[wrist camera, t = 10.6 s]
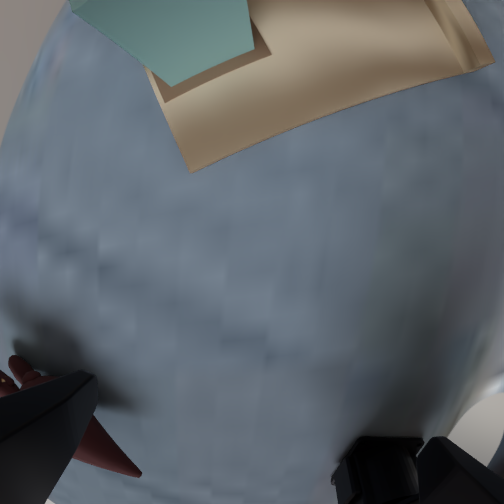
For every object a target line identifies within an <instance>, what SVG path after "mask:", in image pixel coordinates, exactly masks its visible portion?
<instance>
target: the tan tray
mask: <svg viewBox="0 0 504 504" xmlns="http://www.w3.org/2000/svg"><path fill="white" fill-rule="evenodd" d="M247 5H248V11H249V17H250V23H251V30H252V36H253V42H254V50H251V51H249V52H246V53H244V54H241V55H239V56H236V57H234V58H232V59H229V60H227V61H225V62H222V63H220V64H218V65H216V66H213V67H211V68H209V69H207V70H205V71H203V72H201V73H198V74H196V75H194V76H192V77H190V78H188V79H186V80H184V81H182V82H180V83H178V84H176V85H174V86H173V87H171V86H169V85H168V84H167V83H166V82H164V81H163V80H162V79H161V78H160V77H158V76H157V75H156V74H155V73H153V72H152V71H151V70H150V69H148V68H147V67H146V66H145V65H143V66H144V68H145V71H146V73H147V76H148V78H149V80H150V83H151V85H152V87H153V90H154V92H155V94H156V97H157V99H158V101H159V104H160V106H161V108H162V111H163V113H164V115H165V117H166V120H167V122H168V124H169V127H170V129H171V131H172V133H173V136H174V138H175V140H176V143H177V145H178V147H179V149H180V152H181V154H182V156H183V158H184V161H185V163H186V165H187V167H188V170H189V172H190V173H194V172H196V171H198V170H200V169H202V168H204V167H206V166H208V165H211V164H213V163H215V162H217V161H219V160H221V159H223V158H226V157H228V156H230V155H232V154H234V153H237V152H239V151H241V150H243V149H246V148H248V147H250V146H252V145H255V144H257V143H259V142H262V141H264V140H266V139H269V138H271V137H274V136H276V135H278V134H281V133H283V132H286V131H288V130H291V129H293V128H296V127H298V126H301V125H303V124H306V123H308V122H311V121H314V120H316V119H319V118H322V117H324V116H327V115H330V114H332V113H335V112H338V111H341V110H344V109H346V108H349V107H352V106H355V105H358V104H361V103H364V102H367V101H370V100H373V99H376V98H379V97H382V96H385V95H388V94H392V93H395V92H398V91H402V90H405V89H408V88H412V87H415V86H419V85H422V84H426V83H429V82H433V81H437V80H441V79H445V78H449V77H453V76H457V75H461V74H465V73H469V72H474V71H477V70H479V69H481V68H483V67H486V66H488V65H490V64H492V63H495V60H494V58H493V56H492V54H491V52H490V50H489V48H488V46H487V44H486V42H485V40H484V38H483V36H482V34H481V33H480V31H479V29H478V27H477V25H476V24H475V22H474V20H473V18H472V17H471V15H470V13H469V12H468V10H467V8H466V7H465V5H464V4H463V2H462V0H247Z"/></svg>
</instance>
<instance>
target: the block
mask: <svg viewBox="0 0 504 504" xmlns="http://www.w3.org/2000/svg"><path fill="white" fill-rule="evenodd" d="M69 2H70V5H71V9H72V12H73V13H75V14H76V15H77V16H79V17H80V18H82V19H83V20H85V21H86V22H87V23H89V24H90V25H92V26H93V27H94V28H96V29H97V30H98V31H100V32H101V33H103V34H104V35H105V36H107V37H108V38H109V39H111V40H112V41H113V42H115V43H116V44H117V45H119V46H120V47H121V48H123V49H124V50H125V51H127V52H128V53H129V54H130V55H132V56H133V57H134V58H136V59H137V60H138V61H139V62H141V63H142V64H143V65H145V66H146V67H147V68H148V69H150V70H151V71H152V72H153V73H155V74H156V75H157V76H158V77H160V78H161V79H162V80H163V81H164V82H166V83H167V84H168V85H169V86H171V87H173V86H174V85H176V84H178V83H180V82H182V81H184V80H186V79H188V78H190V77H192V76H194V75H196V74H198V73H201V72H203V71H205V70H207V69H209V68H211V67H213V66H216V65H218V64H220V63H222V62H225V61H227V60H229V59H232V58H234V57H236V56H239V55H241V54H244V53H246V52H249V51H251V50H254V42H253V36H252V30H251V23H250V17H249V11H248V5H247V0H69Z"/></svg>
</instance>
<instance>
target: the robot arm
mask: <svg viewBox="0 0 504 504" xmlns="http://www.w3.org/2000/svg"><path fill="white" fill-rule="evenodd" d="M97 403H98V387H97V377H96V375H94V374H93V373H90V372H88V371H85V370H78V371H75V372H72V373H70V374H67V375H64V376H61V377H58V378H56V379H53V380H50V381H47V382H44V383H41V384H39V385H36V386H33V387H30V388H27V389H24V390H21V391H18V392H15V393H12V394H9V395H6V396H3V397H0V504H45V502H46V500H47V499H48V497H49V495H50V494H51V492H52V490H53V489H54V487H55V485H56V483H57V482H58V480H59V478H60V477H61V475H62V473H63V472H64V470H65V468H66V467H67V465H68V464H69V462H70V460H71V459H72V457H73V455H74V453H75V452H76V450H77V448H78V446H79V444H80V441H81V439H82V437H83V435H84V432H85V430H86V428H87V426H88V424H89V421H90V419H91V417H92V415H93V413H94V411H95V409H96V406H97ZM423 445H424V440H423V439H422V438H386V437H361V438H359V439H358V440H357V441H356V443H355V444H354V446H353V447H352V449H351V451H350V452H349V454H348V455H347V456H346V457H345V458H344V460H343V461H342V463H341V464H340V466H339V467H338V469H337V470H336V472H335V473H334V476H333V477H332V479H331V484H332V485H334V486H336V492H337V499H338V504H504V479H502V478H501V477H499V476H498V475H497V474H495V473H494V472H493V471H491V470H490V469H488V468H487V467H486V466H484V465H483V464H482V463H480V462H479V461H477V460H476V459H475V458H473V457H472V456H471V455H469V454H468V453H467V452H465V451H464V450H462V449H461V448H460V447H458V446H457V445H456V444H454V443H453V442H452V441H450V440H449V439H448V438H446V437H444V436H438V437H432V438H431V439H430V440H429V441H428V443H427V444H426V445H425V447H424V448H423V450H422V451H421V452H420V453H419V455H418V457H416V454H417V453H418V452H419V450H420V449H421V448H422V446H423Z"/></svg>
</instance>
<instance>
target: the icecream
mask: <svg viewBox="0 0 504 504" xmlns="http://www.w3.org/2000/svg"><path fill="white" fill-rule="evenodd" d="M8 366H9V368H10V370H11V371H12V373H13V375H14V377H15V378H16V380H18V381H19V382H20V383H21V384H22V386H21V388H20V389H19V388H18V386H17V385H16V384H15V383H14V380H13V379H12V378H10V377H9V376H7V375H6V374H5V373H4V372H2V371H1V370H0V397H3V396H6V395H9V394H12V393H15V392H18V391H21V390H24V389H27V388H30V387H33V386H36V385H39V384H41V383H44V382H47V381H50V380H53V379H56V378H58V377H59V376H58V377H56V376H41V374H40V373H39V372H37V371H34V370H33V368H32V367H31V365H30V364H28V363H27V362H26V361H25V360H23V359H22V358H21V357H19V356H17V355H12V356H11V357H9V361H8ZM72 458H74V459H77V460H80V461H82V462H85V463H88V464H91V465H94V466H97V467H101V468H104V469H107V470H110V471H114V472H117V473H121V474H124V475H128V476H132V477H137V478H139V477H141V475H142V472H141V471H140V470H139V468H138V467H137V466H136V465H135V464H134V463H133V462H132V461H131V460H130V459H129V458H128V457H127V455H126V454H125V453H124V452H123V451H122V450H121V449H120V448H119V446H118V445H117V444H116V443H115V442H114V440H113V439H112V438H111V437H110V435H109V434H108V433H107V432H106V431H105V429H104V428H103V427H102V425H101V424H100V423H99V422H98V420H97V419H96V418H95V416H94V415H92V417H91V419H90V421H89V424H88V426H87V428H86V430H85V432H84V435H83V437H82V439H81V441H80V444H79V446H78V448H77V450H76V452H75V453H74V455H73V457H72Z"/></svg>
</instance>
